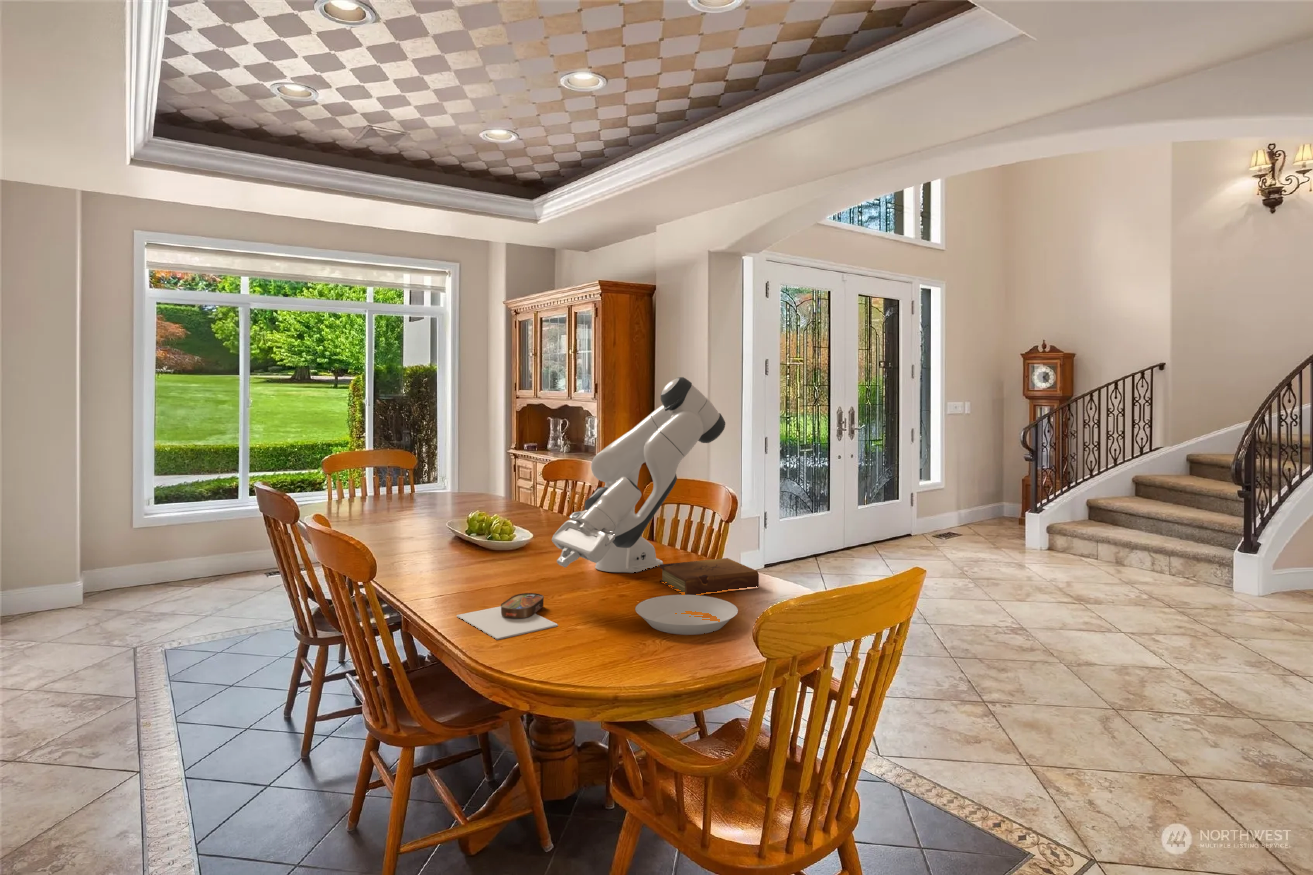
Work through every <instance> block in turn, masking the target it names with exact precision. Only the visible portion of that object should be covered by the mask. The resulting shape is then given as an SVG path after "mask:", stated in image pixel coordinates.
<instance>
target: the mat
mask: <svg viewBox="0 0 1313 875" xmlns="http://www.w3.org/2000/svg"><path fill="white" fill-rule="evenodd" d="M455 616H457V617H456V618H458V619H459V618H460V619H459V620H461V619H463V620H464V621H463V620H462V621H463V622H465V623H466V622H467V623H466V624H468V623H469V624H468V625H470V624H471V625H470V626H472V627H473V626H475V627H476V628H475V627H474V628H475V629H477V628H478V629H477V630H479V631H480V630H482V631H483V632H482V631H481V632H482V633H483V634H486V633H487V634H488V635H487V634H486V635H487V636H489V637H491V636H492V637H491V638H493V639H494V638H495V639H494V640H497V641H498V640H503V639H508V638H511V637H516V636H521V635H524V634H529V633H533V632H538V631H542V630H547V629H552V628H555V627H558V626H559V624H558V623H556V622H554V621H551V620H550V619H548V618H546V617H543V616H541V615H539V614H537V613H535V614H533V615H532V616H530V617H526V618H510V617H503V616H502V615H501V605H500V606H496V607H491V608H486V609H485V608H484V609H481V610H475V611H470V612H466V613H461V614H456V615H455Z"/></svg>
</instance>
